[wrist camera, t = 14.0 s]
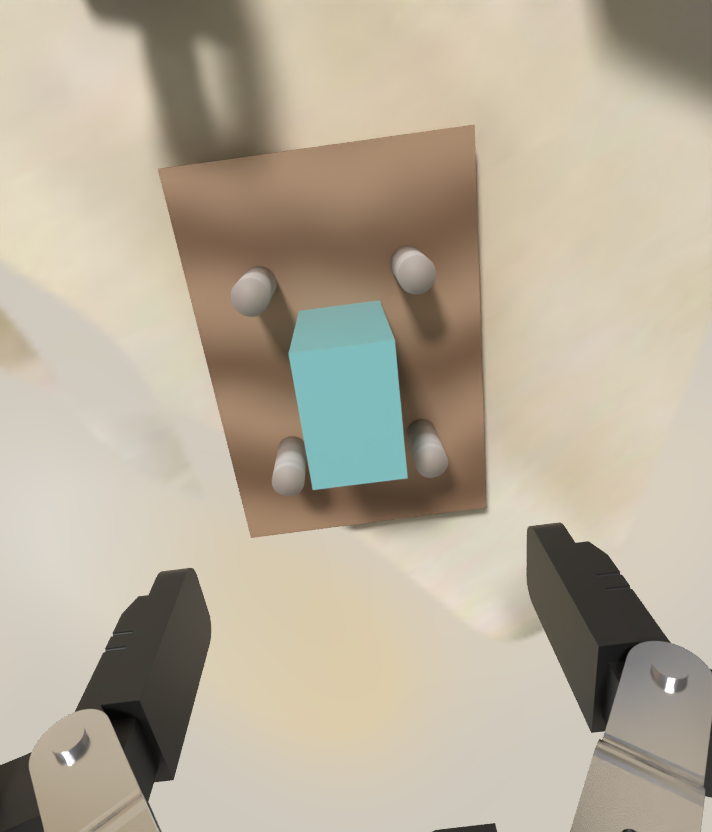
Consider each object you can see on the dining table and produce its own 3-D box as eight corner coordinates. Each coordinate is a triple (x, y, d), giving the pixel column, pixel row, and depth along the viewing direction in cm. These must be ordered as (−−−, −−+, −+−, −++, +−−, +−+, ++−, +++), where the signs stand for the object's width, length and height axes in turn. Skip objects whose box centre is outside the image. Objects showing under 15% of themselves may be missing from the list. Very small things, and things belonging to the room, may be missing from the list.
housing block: (299, 310, 26) (288, 353, 20) (379, 300, 26) (394, 340, 20) (316, 420, 29) (312, 490, 23) (390, 411, 29) (407, 478, 23)
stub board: (167, 169, 25) (130, 167, 20) (466, 127, 25) (496, 116, 20) (254, 522, 33) (242, 578, 29) (480, 493, 33) (503, 544, 28)
